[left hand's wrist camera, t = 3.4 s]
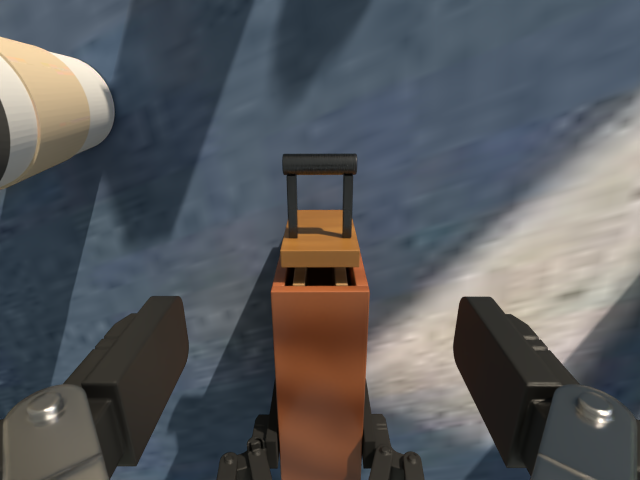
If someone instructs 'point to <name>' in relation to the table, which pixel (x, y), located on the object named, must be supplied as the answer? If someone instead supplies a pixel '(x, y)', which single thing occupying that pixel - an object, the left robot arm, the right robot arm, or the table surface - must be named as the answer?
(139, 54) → the table surface
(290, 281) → the cabinet
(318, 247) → the drawer
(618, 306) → the table surface
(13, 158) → the coffee cup
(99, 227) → the table surface
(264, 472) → the right robot arm
